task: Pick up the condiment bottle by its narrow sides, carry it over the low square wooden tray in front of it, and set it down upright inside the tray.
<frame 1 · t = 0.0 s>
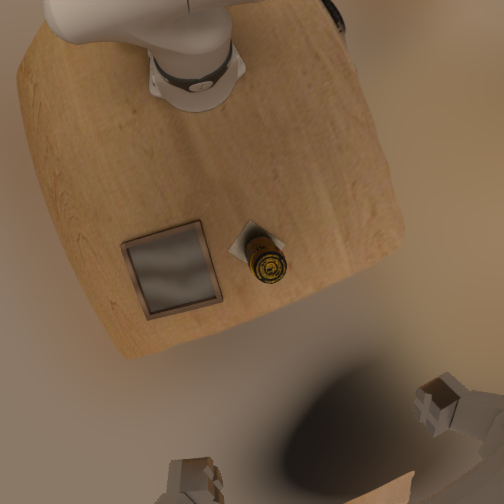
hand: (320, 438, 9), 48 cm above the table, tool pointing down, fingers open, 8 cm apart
condiment: (256, 247, 57), on the table
square wooden tray: (172, 270, 56), on the table
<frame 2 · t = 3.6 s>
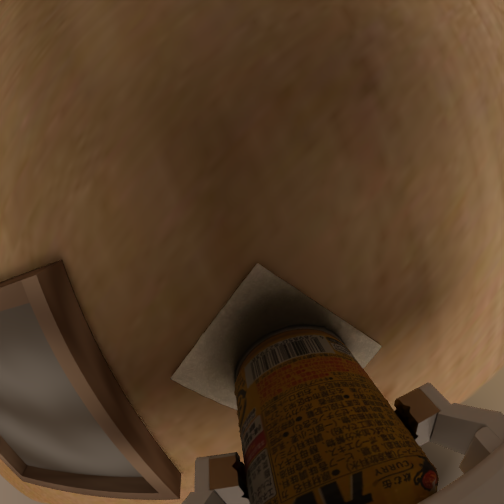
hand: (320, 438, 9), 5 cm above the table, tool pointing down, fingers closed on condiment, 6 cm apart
condiment: (280, 362, 14), on the table, touching gripper
square wooden tray: (31, 402, 13), on the table
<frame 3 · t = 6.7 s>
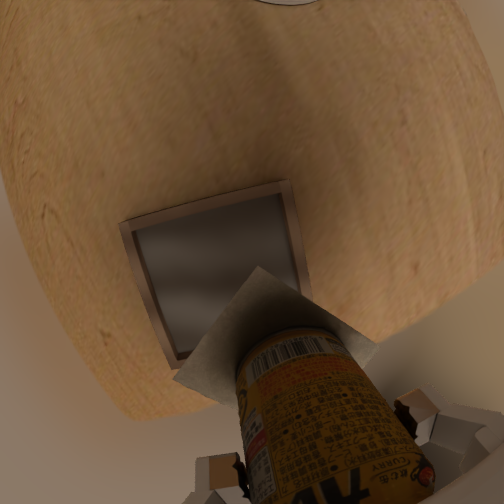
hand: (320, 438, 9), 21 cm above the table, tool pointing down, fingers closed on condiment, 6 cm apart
condiment: (280, 363, 14), point 16 cm above the table, touching gripper
square wooden tray: (223, 277, 29), on the table
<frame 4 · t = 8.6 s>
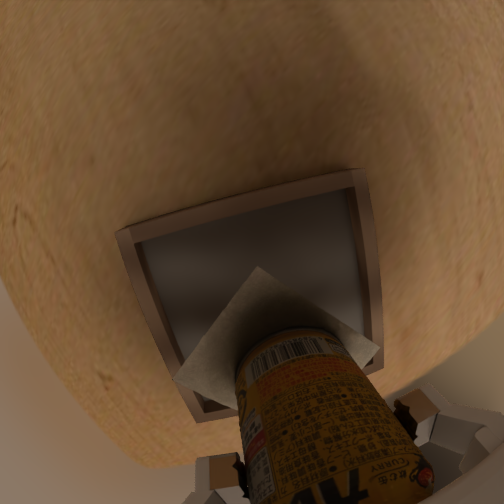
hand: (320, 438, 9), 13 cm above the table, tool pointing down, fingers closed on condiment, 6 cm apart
condiment: (280, 363, 14), point 7 cm above the table, touching gripper
square wooden tray: (266, 303, 21), on the table
when the fingers open (8 cm above the table, at t = 10.0 s): condiment drops 2 cm, resting on square wooden tray.
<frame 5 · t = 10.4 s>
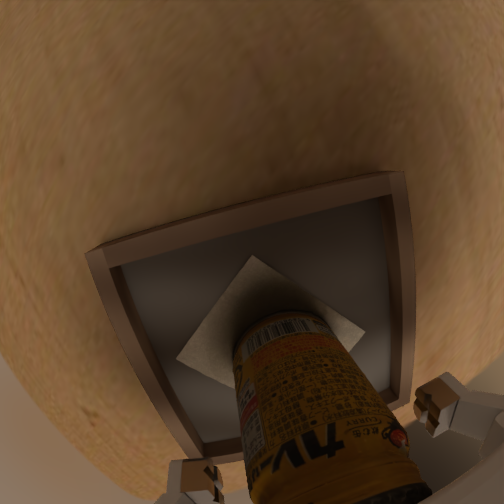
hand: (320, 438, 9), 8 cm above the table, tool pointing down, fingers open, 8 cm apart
condiment: (273, 345, 16), point 1 cm above the table, touching square wooden tray
square wooden tray: (278, 337, 17), on the table
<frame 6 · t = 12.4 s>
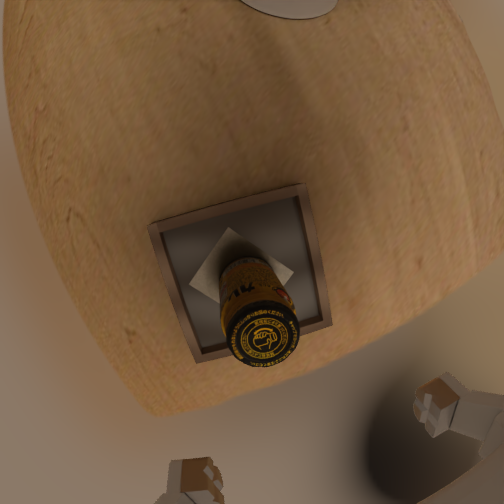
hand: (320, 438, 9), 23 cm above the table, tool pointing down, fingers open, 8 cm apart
condiment: (241, 277, 31), point 1 cm above the table, touching square wooden tray
square wooden tray: (244, 274, 32), on the table
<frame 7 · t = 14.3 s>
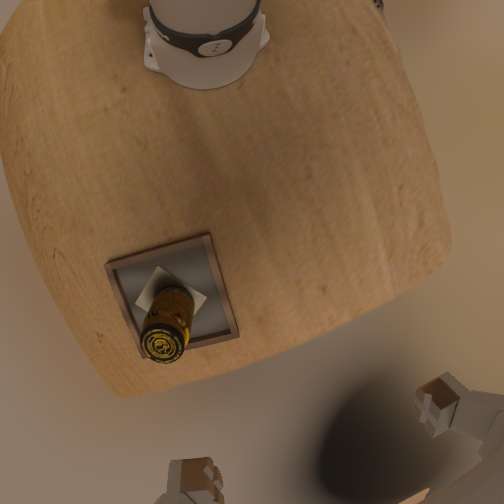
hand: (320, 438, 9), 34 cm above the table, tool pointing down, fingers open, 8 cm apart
condiment: (170, 299, 42), point 1 cm above the table, touching square wooden tray
square wooden tray: (173, 297, 42), on the table
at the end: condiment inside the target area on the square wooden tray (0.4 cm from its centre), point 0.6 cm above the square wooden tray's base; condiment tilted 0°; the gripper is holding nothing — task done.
